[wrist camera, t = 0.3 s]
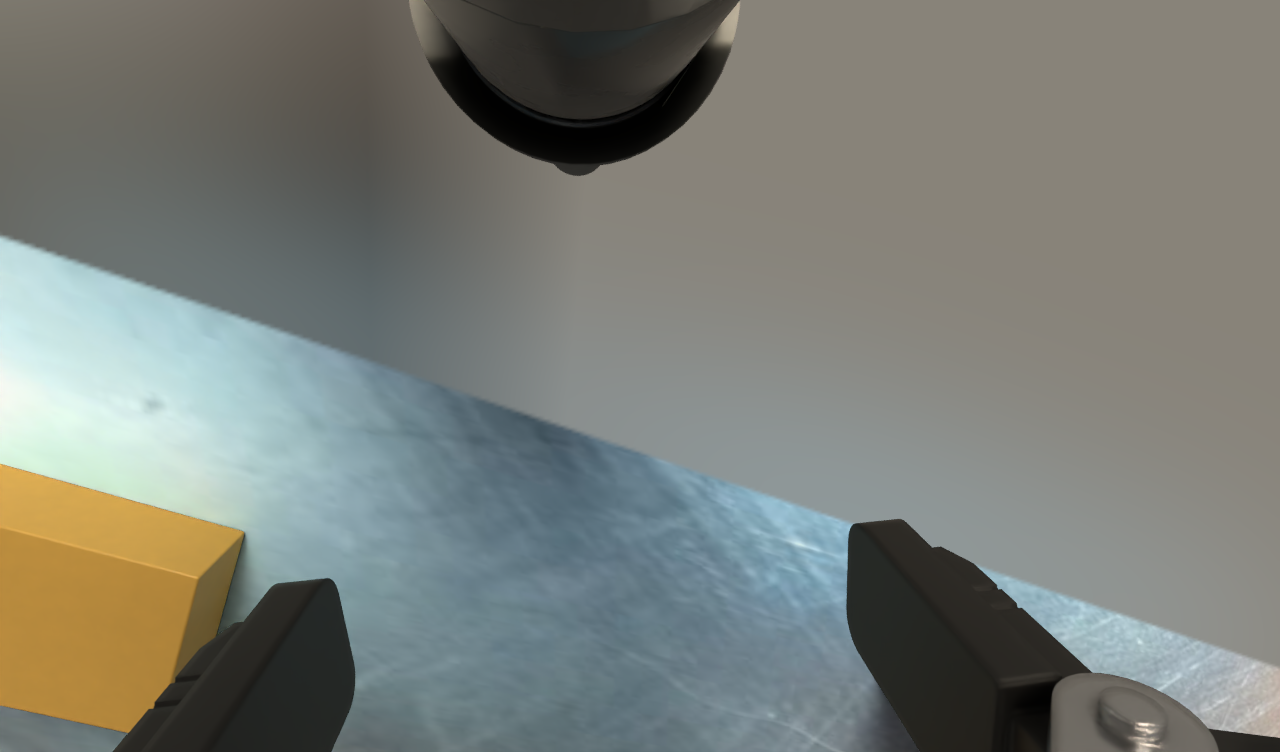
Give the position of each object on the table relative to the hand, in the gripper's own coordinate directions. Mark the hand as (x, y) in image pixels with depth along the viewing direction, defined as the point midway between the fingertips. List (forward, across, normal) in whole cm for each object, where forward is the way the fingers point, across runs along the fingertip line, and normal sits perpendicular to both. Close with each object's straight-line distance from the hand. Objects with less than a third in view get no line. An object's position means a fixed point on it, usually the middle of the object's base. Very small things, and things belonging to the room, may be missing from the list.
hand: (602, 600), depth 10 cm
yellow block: (+15, +19, +7) cm, 25 cm away
